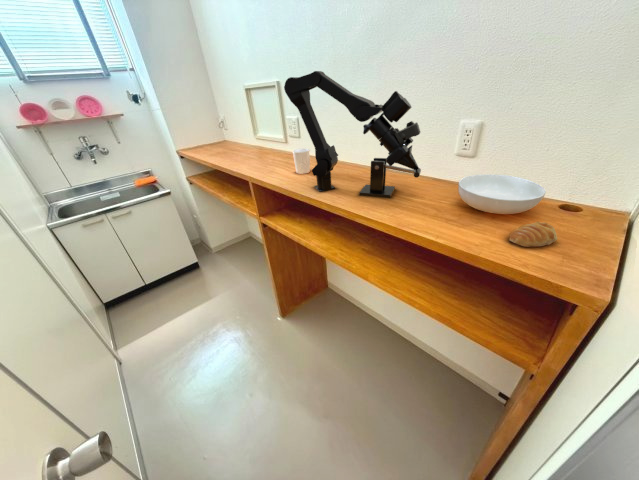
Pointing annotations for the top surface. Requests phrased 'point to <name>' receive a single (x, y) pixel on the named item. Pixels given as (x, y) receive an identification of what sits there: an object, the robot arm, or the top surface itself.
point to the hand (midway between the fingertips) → (417, 169)
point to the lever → (404, 170)
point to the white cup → (302, 160)
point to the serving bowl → (500, 193)
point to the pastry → (534, 235)
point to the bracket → (377, 181)
